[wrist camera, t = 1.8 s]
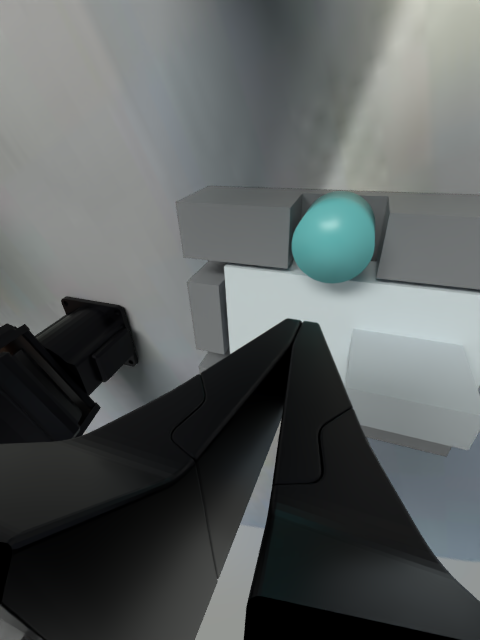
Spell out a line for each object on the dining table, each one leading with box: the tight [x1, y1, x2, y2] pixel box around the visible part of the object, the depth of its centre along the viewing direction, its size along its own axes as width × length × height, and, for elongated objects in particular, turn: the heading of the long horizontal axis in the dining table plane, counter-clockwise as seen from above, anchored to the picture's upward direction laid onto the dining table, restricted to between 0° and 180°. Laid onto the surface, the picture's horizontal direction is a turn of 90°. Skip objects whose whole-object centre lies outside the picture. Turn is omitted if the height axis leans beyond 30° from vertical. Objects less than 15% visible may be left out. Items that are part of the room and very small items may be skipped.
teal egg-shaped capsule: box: [292, 191, 375, 283], centre depth 15 cm, size 3×3×3 cm
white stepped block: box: [224, 258, 480, 450], centre depth 17 cm, size 14×7×7 cm, turn 93°
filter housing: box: [176, 186, 480, 457], centre depth 20 cm, size 16×14×4 cm
